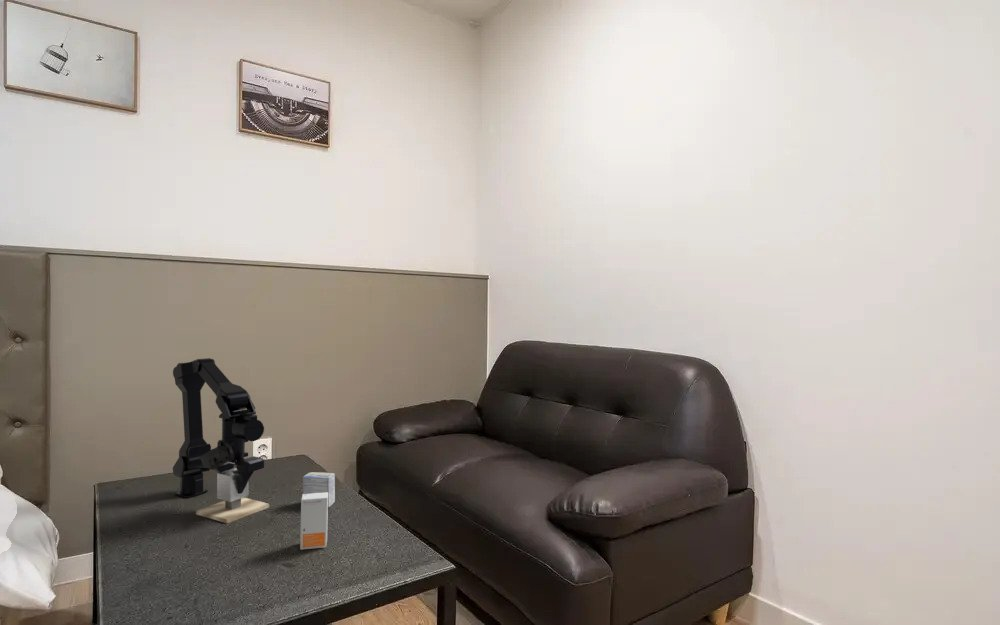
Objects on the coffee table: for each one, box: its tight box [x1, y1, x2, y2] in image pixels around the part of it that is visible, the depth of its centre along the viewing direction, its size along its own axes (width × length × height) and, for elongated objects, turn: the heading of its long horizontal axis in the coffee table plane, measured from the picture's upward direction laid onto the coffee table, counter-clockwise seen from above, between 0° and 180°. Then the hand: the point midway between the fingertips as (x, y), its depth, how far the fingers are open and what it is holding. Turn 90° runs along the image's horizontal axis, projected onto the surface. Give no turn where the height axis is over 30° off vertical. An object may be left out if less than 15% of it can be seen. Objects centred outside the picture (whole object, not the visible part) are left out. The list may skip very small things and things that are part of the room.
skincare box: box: [299, 492, 329, 551], centre depth 129 cm, size 6×4×12 cm
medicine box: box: [302, 471, 336, 508], centre depth 156 cm, size 8×4×9 cm, turn 84°
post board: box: [195, 497, 270, 524], centre depth 150 cm, size 13×13×5 cm
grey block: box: [216, 467, 250, 502], centre depth 150 cm, size 6×6×7 cm
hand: (233, 491), depth 150 cm, fingers closed on grey block, 6 cm apart
